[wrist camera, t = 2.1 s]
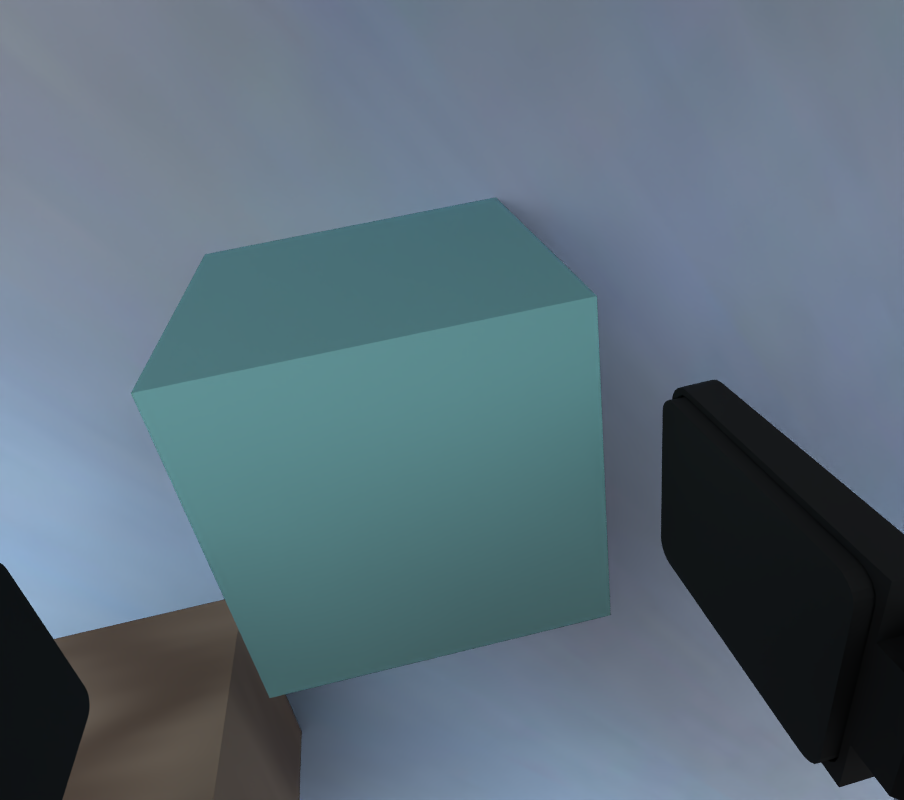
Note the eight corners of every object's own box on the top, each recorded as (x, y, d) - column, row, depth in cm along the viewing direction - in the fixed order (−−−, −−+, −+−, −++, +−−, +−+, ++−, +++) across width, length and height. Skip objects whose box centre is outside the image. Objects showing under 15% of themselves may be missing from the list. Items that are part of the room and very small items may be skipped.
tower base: (242, 595, 18) (208, 828, 13) (301, 731, 21) (294, 965, 16) (12, 649, 17) (-121, 912, 12) (106, 780, 20) (31, 1036, 15)
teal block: (494, 196, 14) (596, 296, 9) (522, 435, 17) (610, 615, 12) (205, 252, 13) (130, 393, 8) (286, 488, 16) (269, 698, 11)
